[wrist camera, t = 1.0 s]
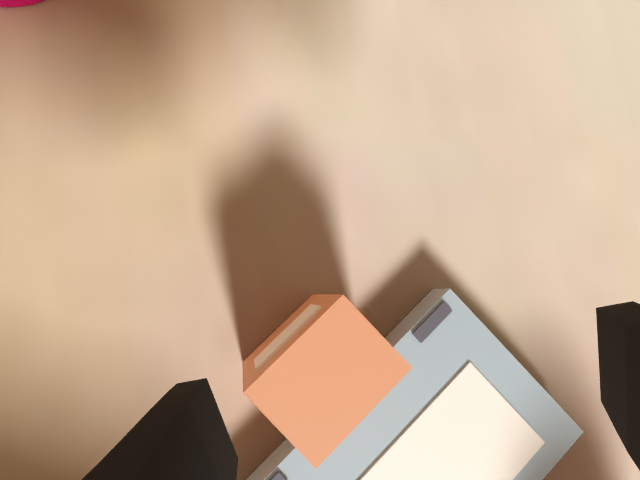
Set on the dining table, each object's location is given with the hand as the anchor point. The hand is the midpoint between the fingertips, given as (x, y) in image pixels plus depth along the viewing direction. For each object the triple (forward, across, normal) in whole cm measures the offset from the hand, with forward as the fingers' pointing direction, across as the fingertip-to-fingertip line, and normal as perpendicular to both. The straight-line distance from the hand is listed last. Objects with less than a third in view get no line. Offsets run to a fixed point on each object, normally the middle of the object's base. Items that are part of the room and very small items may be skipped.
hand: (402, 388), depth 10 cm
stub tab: (+11, +4, +6) cm, 13 cm away
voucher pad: (+9, +1, +11) cm, 14 cm away
